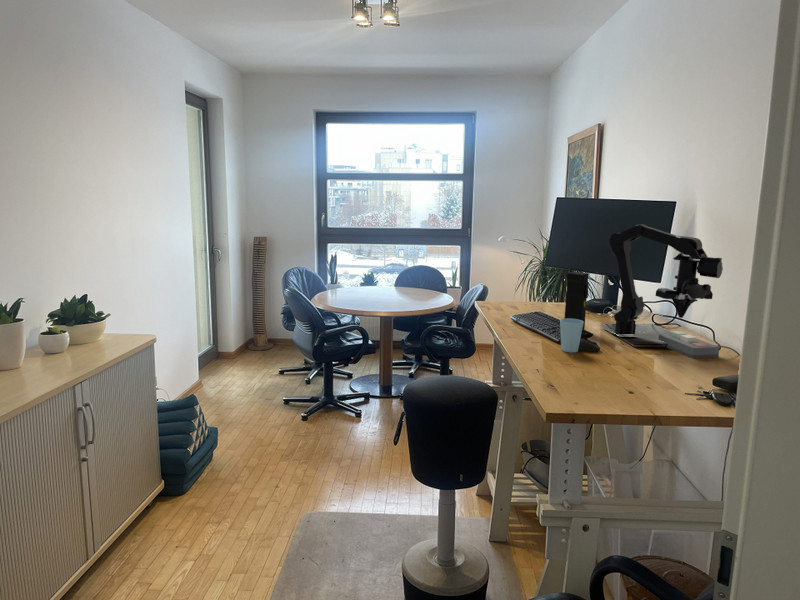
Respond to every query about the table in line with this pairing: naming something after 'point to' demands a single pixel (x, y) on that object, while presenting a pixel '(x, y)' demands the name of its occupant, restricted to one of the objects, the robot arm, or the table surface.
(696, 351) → the keypad
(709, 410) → the table surface
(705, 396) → the table surface
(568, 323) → the cup
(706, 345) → the terracotta key
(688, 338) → the cream key
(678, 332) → the sage key
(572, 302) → the portable radio
